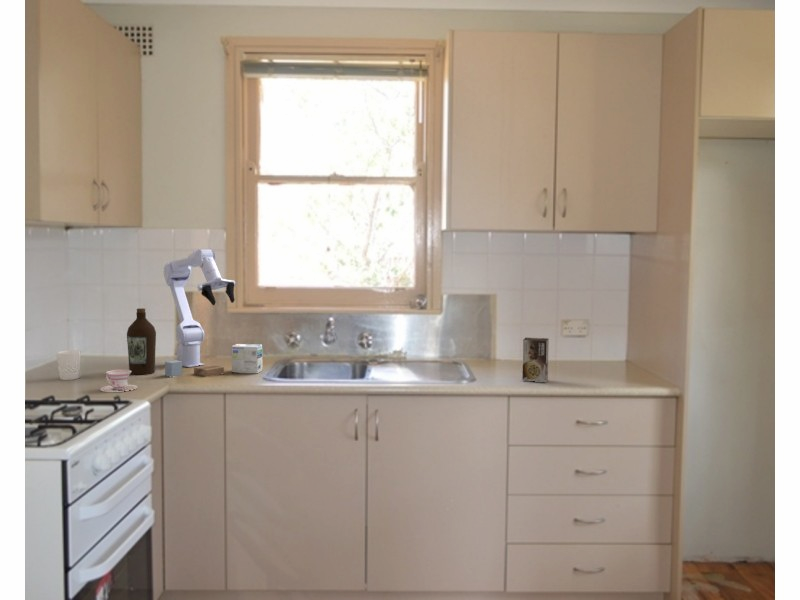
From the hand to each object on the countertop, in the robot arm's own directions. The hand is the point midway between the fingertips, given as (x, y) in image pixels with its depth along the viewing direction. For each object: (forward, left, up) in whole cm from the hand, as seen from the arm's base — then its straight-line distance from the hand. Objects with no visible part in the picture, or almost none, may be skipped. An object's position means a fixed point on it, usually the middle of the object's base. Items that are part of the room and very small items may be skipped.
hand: (223, 302), depth 267 cm
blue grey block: (-14, -13, -28) cm, 34 cm away
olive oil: (-28, -18, -28) cm, 44 cm away
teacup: (-7, -39, -29) cm, 49 cm away
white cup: (-37, -42, -28) cm, 63 cm away
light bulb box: (0, +11, -28) cm, 30 cm away
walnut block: (-7, -2, -29) cm, 29 cm away
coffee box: (+93, +74, -28) cm, 122 cm away
